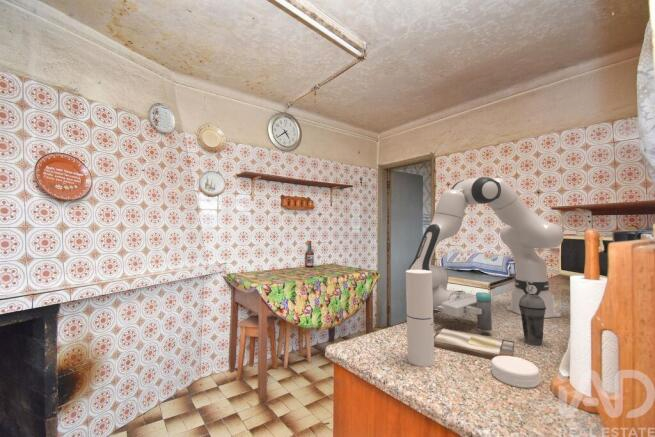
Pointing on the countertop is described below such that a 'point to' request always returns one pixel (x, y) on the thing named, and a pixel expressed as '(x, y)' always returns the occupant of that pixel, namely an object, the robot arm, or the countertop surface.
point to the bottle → (484, 311)
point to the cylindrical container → (420, 317)
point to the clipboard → (473, 344)
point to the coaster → (515, 371)
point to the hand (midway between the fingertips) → (486, 310)
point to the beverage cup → (532, 317)
